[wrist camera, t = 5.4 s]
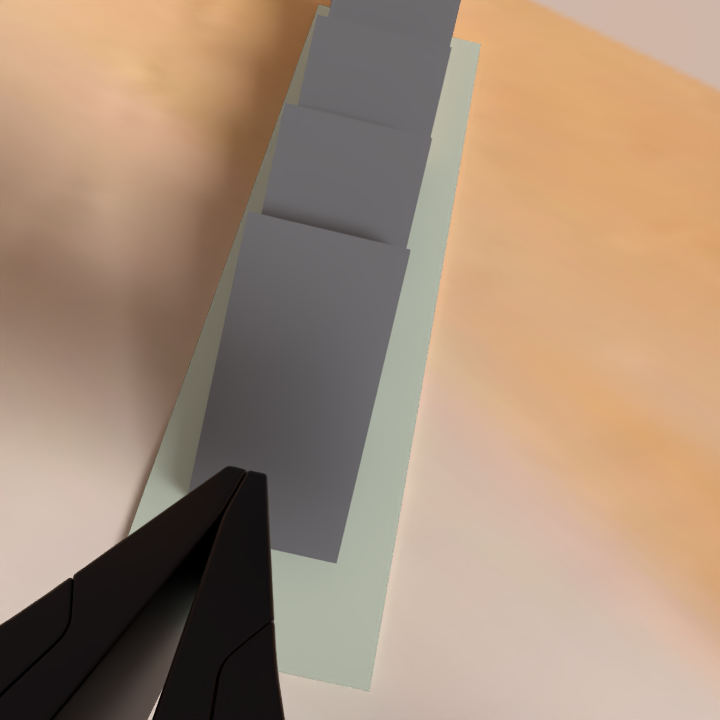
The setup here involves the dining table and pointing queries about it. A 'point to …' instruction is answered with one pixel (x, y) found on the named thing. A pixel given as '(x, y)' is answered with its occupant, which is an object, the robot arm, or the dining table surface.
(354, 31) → the domino
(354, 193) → the domino
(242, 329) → the domino
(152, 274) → the dining table surface
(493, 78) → the dining table surface
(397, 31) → the domino
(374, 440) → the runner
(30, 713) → the robot arm
